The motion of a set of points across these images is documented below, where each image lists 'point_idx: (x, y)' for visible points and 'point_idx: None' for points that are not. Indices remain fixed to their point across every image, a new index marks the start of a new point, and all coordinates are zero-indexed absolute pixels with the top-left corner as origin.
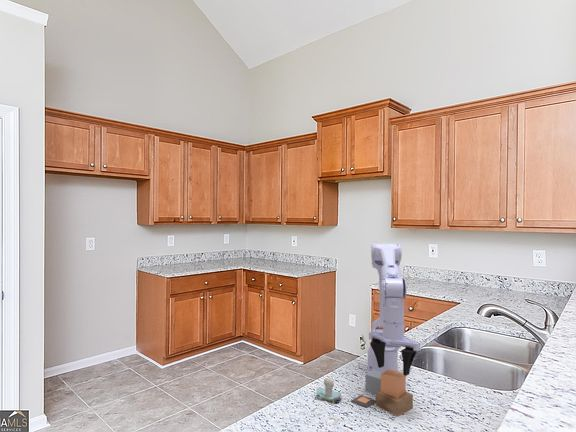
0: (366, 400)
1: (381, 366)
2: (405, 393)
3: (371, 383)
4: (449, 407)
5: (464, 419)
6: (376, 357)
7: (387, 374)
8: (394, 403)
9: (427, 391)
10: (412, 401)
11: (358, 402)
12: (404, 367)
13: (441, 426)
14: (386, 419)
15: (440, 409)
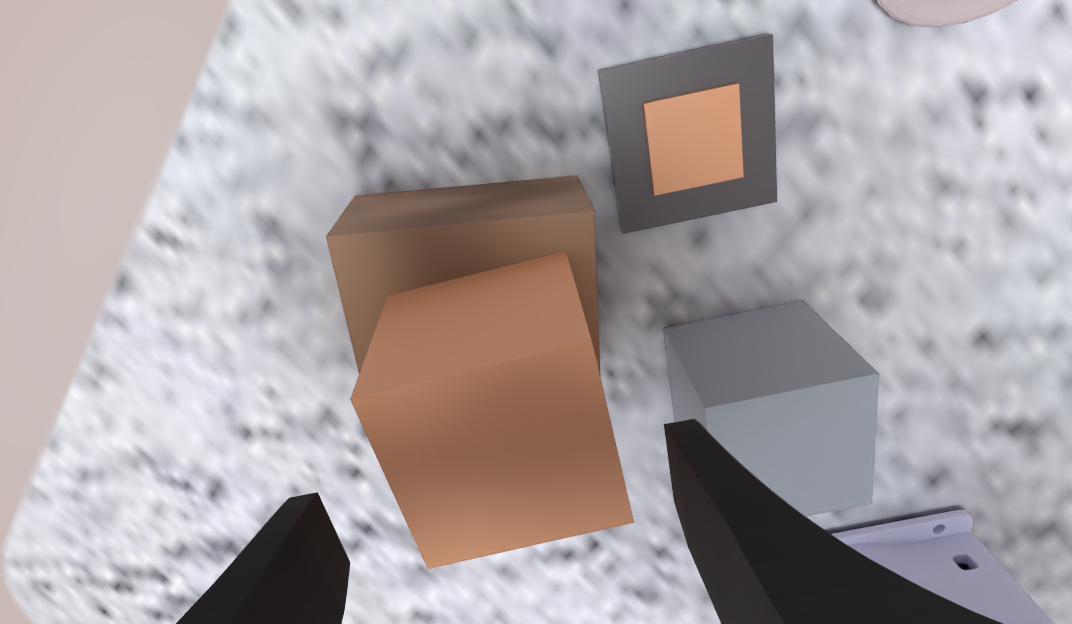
0: (670, 153)
1: (669, 457)
2: None
3: (776, 350)
4: None
5: (127, 525)
6: (765, 497)
7: (527, 398)
8: (373, 223)
9: (508, 614)
10: None
11: (701, 66)
12: (243, 575)
13: (102, 348)
14: (361, 69)
15: None
